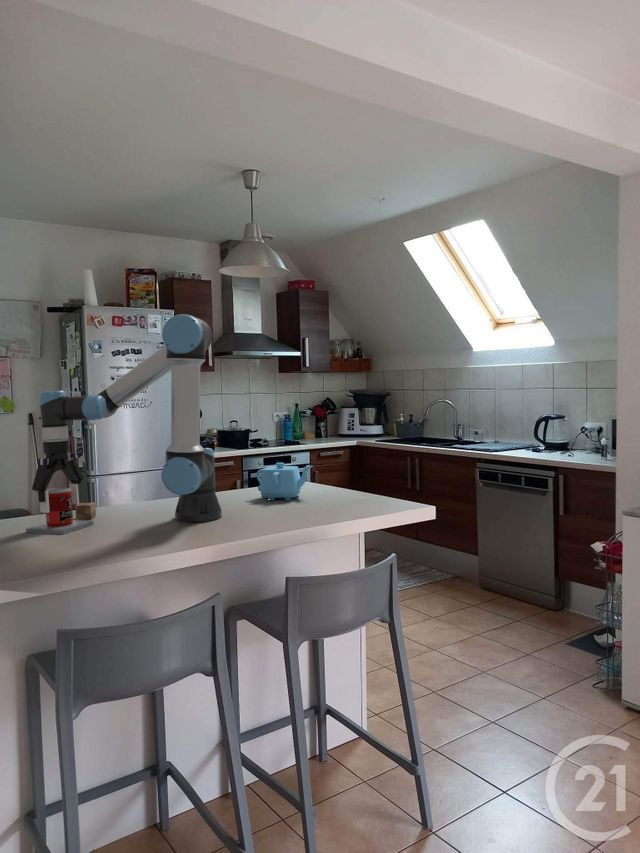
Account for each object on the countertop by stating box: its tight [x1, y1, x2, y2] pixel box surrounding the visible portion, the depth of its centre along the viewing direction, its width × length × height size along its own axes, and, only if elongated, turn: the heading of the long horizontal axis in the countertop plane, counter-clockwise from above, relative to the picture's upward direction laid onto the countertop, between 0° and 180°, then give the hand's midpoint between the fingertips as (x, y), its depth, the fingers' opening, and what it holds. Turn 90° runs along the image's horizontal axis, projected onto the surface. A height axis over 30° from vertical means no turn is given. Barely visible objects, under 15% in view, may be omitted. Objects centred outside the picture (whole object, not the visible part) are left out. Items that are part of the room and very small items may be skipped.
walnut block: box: [74, 502, 97, 521], centre depth 223 cm, size 5×5×5 cm
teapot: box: [255, 462, 313, 501], centre depth 252 cm, size 18×16×14 cm
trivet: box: [25, 519, 95, 535], centre depth 209 cm, size 14×14×1 cm
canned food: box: [45, 487, 74, 527], centre depth 209 cm, size 8×8×11 cm
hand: (60, 508), depth 208 cm, fingers open, 13 cm apart
